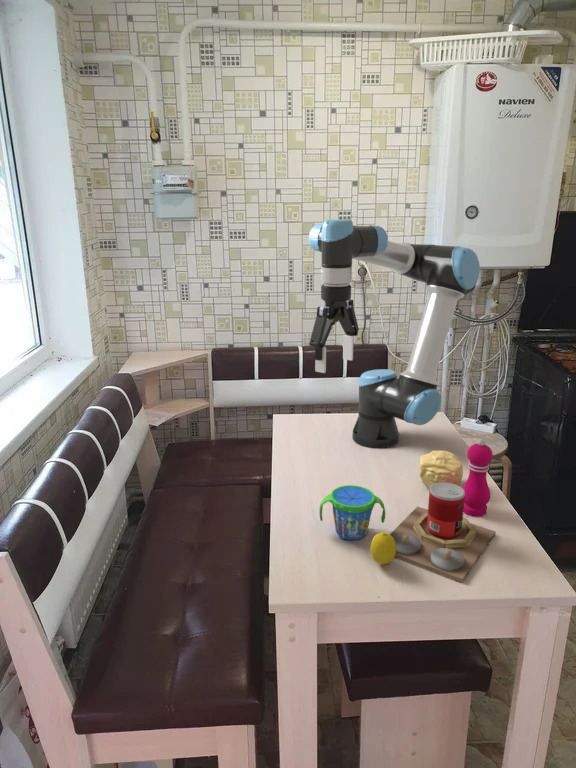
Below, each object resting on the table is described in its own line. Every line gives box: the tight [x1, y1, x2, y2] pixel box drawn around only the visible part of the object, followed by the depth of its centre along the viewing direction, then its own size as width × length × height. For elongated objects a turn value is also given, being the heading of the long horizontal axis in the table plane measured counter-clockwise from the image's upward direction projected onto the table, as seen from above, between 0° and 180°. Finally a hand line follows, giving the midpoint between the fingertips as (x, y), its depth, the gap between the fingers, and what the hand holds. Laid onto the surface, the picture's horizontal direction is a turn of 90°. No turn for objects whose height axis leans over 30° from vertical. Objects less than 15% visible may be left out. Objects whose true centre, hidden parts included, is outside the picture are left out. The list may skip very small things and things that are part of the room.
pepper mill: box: [462, 438, 494, 518], centre depth 148 cm, size 7×7×20 cm
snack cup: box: [318, 484, 386, 541], centre depth 141 cm, size 16×10×10 cm
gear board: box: [389, 506, 497, 584], centre depth 138 cm, size 22×20×4 cm
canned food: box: [427, 483, 465, 539], centre depth 139 cm, size 8×8×11 cm
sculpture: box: [418, 450, 464, 490], centre depth 162 cm, size 12×12×11 cm
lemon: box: [369, 531, 396, 566], centre depth 129 cm, size 6×6×8 cm
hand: (334, 365), depth 154 cm, fingers open, 13 cm apart
